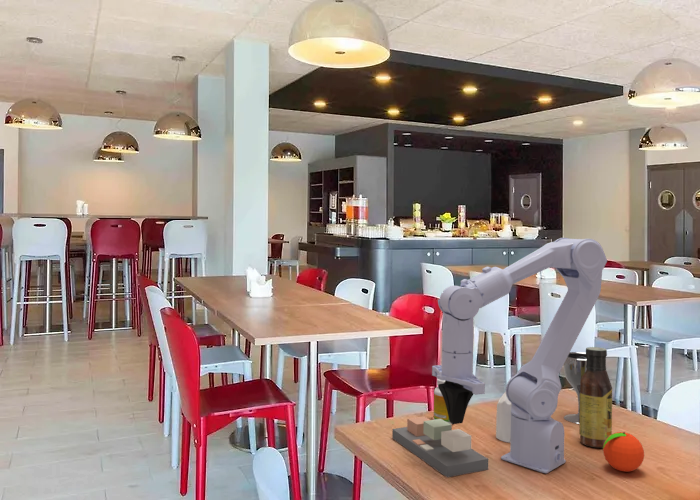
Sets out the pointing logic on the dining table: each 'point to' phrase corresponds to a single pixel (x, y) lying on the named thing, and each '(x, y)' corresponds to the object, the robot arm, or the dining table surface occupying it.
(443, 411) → the supplement bottle
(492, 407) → the dining table surface
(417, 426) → the terracotta key
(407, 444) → the grey key panel base
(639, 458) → the clementine
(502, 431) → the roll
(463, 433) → the cream key
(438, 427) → the sage key
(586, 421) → the sauce bottle
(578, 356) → the wine glass
